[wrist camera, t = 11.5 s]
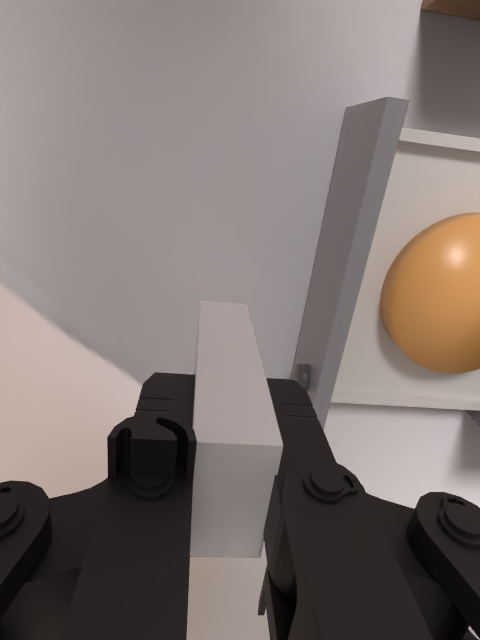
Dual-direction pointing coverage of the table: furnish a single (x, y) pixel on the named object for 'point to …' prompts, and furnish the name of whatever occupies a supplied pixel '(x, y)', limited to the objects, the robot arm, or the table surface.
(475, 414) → the housing
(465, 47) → the table surface
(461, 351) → the orange dome cap
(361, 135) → the tray
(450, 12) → the block
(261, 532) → the robot arm
